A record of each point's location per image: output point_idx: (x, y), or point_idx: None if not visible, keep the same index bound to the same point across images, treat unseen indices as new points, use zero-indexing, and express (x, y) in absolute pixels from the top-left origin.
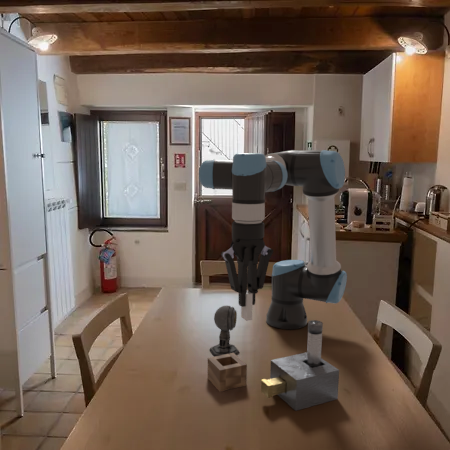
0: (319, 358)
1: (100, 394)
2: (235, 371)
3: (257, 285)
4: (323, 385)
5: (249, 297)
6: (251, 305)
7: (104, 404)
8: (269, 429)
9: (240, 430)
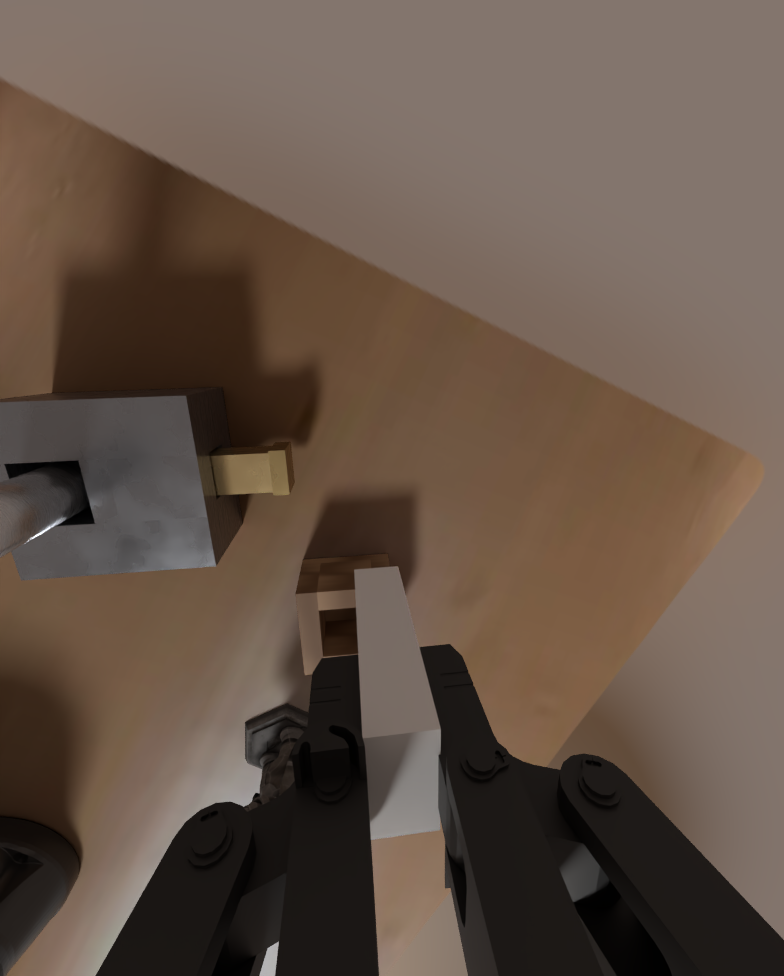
0: (13, 477)
1: (648, 629)
2: (338, 582)
3: (258, 874)
4: (78, 396)
5: (400, 696)
6: (367, 636)
7: (656, 588)
8: (339, 334)
9: (416, 363)
